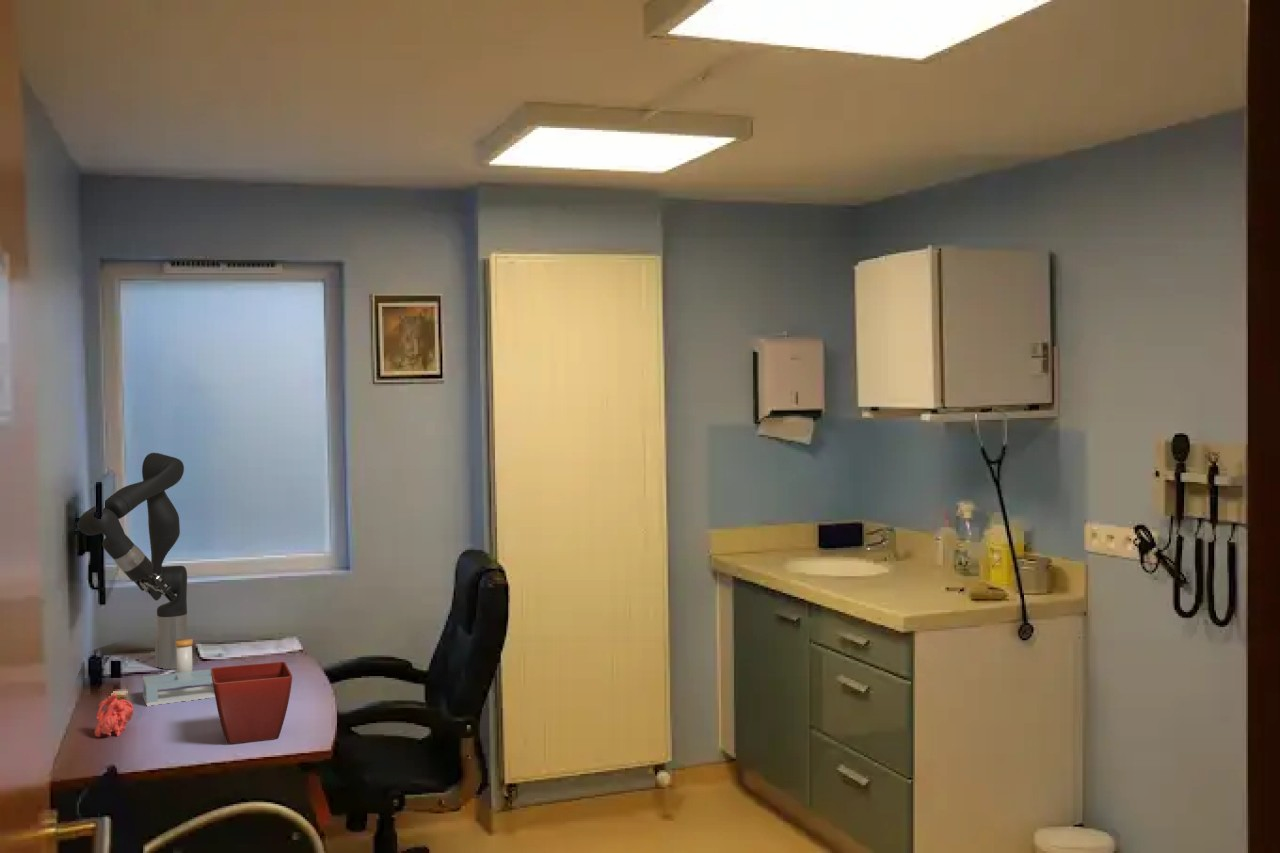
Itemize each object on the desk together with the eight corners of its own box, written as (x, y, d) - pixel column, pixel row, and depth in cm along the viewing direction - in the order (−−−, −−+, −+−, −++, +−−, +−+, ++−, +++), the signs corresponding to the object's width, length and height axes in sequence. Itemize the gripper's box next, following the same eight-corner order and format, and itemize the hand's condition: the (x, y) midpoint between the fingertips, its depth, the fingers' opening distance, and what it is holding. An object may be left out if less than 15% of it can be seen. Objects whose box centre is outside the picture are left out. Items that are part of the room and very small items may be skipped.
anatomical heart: (129, 732, 312) (140, 690, 312) (122, 745, 300) (134, 701, 301) (94, 726, 309) (106, 684, 310) (86, 739, 298) (98, 695, 298)
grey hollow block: (146, 706, 332) (146, 685, 332) (143, 696, 342) (142, 676, 342) (227, 696, 342) (226, 676, 342) (221, 687, 353) (220, 668, 353)
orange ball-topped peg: (172, 687, 354) (171, 641, 353) (182, 683, 359) (181, 638, 358) (187, 687, 353) (186, 642, 352) (197, 683, 358) (196, 638, 357)
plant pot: (286, 721, 315) (285, 660, 314) (294, 740, 297) (292, 675, 297) (211, 730, 308) (210, 667, 307) (215, 750, 290) (213, 683, 289)
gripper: (154, 553, 341) (188, 591, 349) (129, 551, 349) (162, 589, 357) (136, 572, 336) (170, 610, 344) (111, 569, 345) (145, 606, 353)
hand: (166, 599), depth 351 cm, fingers open, 8 cm apart
